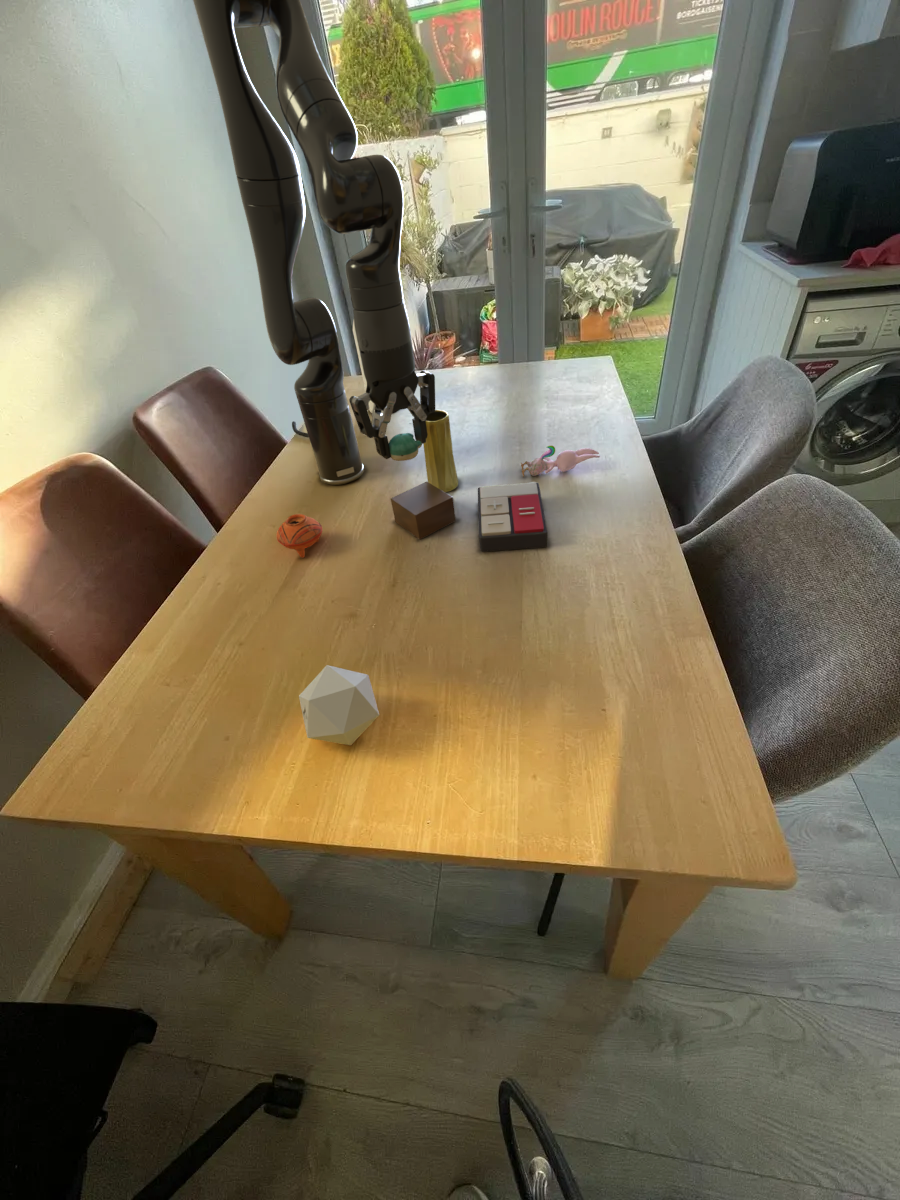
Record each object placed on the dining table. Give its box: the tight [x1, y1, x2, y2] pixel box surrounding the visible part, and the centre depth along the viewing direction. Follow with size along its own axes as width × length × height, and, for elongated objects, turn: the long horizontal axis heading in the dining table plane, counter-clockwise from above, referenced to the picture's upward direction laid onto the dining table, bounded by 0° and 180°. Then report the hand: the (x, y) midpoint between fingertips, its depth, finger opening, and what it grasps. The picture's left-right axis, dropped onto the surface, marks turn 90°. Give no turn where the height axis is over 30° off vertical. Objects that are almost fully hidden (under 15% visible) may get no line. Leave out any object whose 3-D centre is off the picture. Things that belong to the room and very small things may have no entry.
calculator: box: [477, 481, 548, 553], centre depth 95 cm, size 11×4×15 cm
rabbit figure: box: [520, 445, 601, 478], centre depth 106 cm, size 6×6×15 cm
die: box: [298, 664, 380, 746], centre depth 65 cm, size 8×9×10 cm
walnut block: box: [390, 481, 457, 540], centre depth 98 cm, size 8×8×5 cm
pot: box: [275, 513, 323, 559], centre depth 96 cm, size 8×8×7 cm
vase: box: [422, 409, 459, 493], centre depth 104 cm, size 6×6×14 cm
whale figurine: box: [388, 432, 423, 462], centre depth 88 cm, size 6×7×4 cm
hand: (403, 449), depth 88 cm, fingers closed on whale figurine, 6 cm apart
